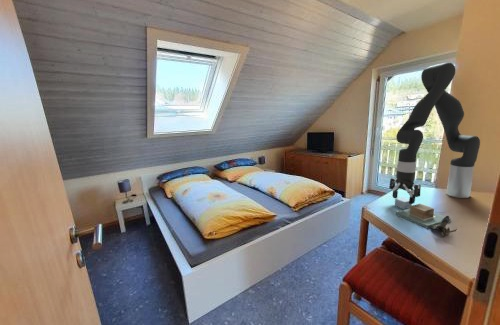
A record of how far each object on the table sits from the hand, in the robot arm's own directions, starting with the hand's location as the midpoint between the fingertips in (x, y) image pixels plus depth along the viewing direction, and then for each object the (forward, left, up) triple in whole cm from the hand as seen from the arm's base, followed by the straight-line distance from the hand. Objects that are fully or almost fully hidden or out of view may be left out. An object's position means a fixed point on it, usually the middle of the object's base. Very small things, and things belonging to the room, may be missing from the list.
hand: (402, 200), depth 110 cm
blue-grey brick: (0, 0, -3) cm, 3 cm away
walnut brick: (+4, +12, -2) cm, 13 cm away
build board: (+4, +12, -3) cm, 13 cm away
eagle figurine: (+9, +23, -4) cm, 25 cm away
